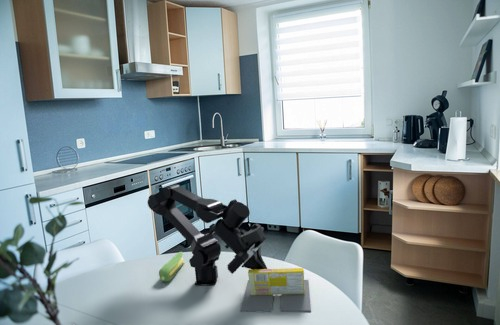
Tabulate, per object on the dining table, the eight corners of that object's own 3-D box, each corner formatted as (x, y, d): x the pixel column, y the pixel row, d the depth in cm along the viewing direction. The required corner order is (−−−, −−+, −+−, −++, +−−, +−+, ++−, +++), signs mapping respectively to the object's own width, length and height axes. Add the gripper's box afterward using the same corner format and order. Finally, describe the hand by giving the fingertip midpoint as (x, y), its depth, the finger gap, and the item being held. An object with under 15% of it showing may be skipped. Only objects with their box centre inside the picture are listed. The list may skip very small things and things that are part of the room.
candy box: (304, 289, 111) (303, 267, 107) (304, 294, 109) (304, 272, 105) (250, 290, 112) (248, 268, 109) (250, 295, 110) (247, 273, 107)
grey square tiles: (240, 311, 103) (240, 310, 103) (248, 281, 120) (247, 280, 120) (310, 311, 101) (310, 310, 100) (308, 280, 118) (308, 279, 118)
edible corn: (153, 273, 122) (165, 269, 121) (176, 250, 141) (186, 247, 140) (159, 287, 122) (171, 284, 121) (181, 263, 141) (191, 260, 140)
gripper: (234, 228, 101) (274, 270, 99) (258, 209, 118) (293, 244, 116) (211, 253, 105) (249, 294, 103) (237, 231, 122) (271, 266, 120)
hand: (267, 273), depth 110 cm, fingers closed
